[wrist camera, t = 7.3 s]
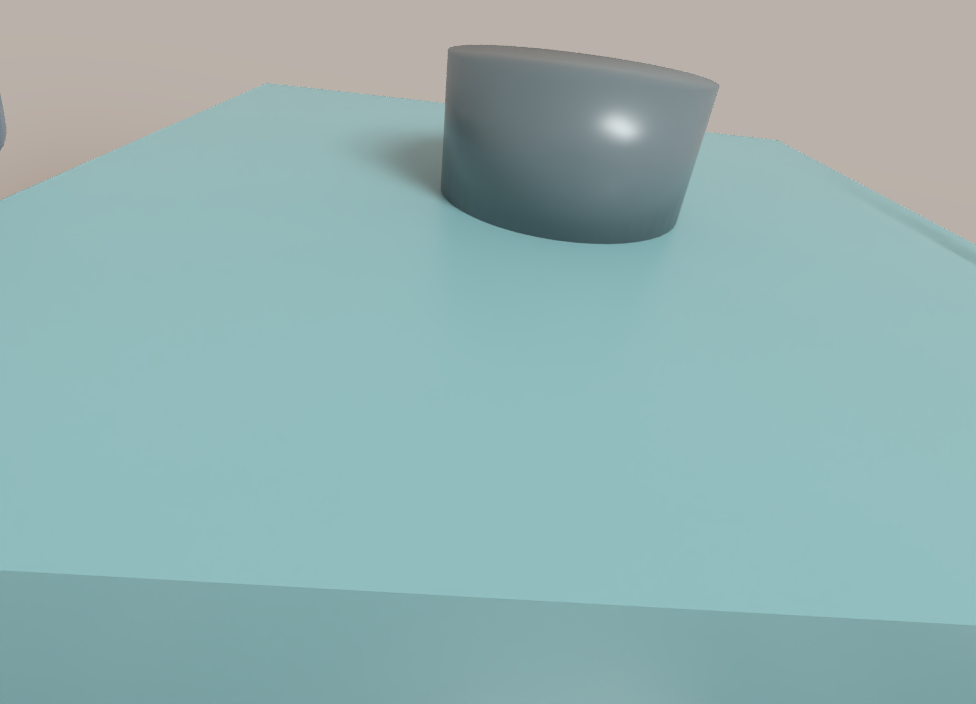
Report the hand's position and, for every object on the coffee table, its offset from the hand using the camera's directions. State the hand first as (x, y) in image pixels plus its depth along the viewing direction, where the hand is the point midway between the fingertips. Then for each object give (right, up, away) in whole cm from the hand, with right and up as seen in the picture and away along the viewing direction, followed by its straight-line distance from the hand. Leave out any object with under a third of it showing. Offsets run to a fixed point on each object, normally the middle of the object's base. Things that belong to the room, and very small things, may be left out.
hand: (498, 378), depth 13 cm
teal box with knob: (-1, -8, +1) cm, 8 cm away
